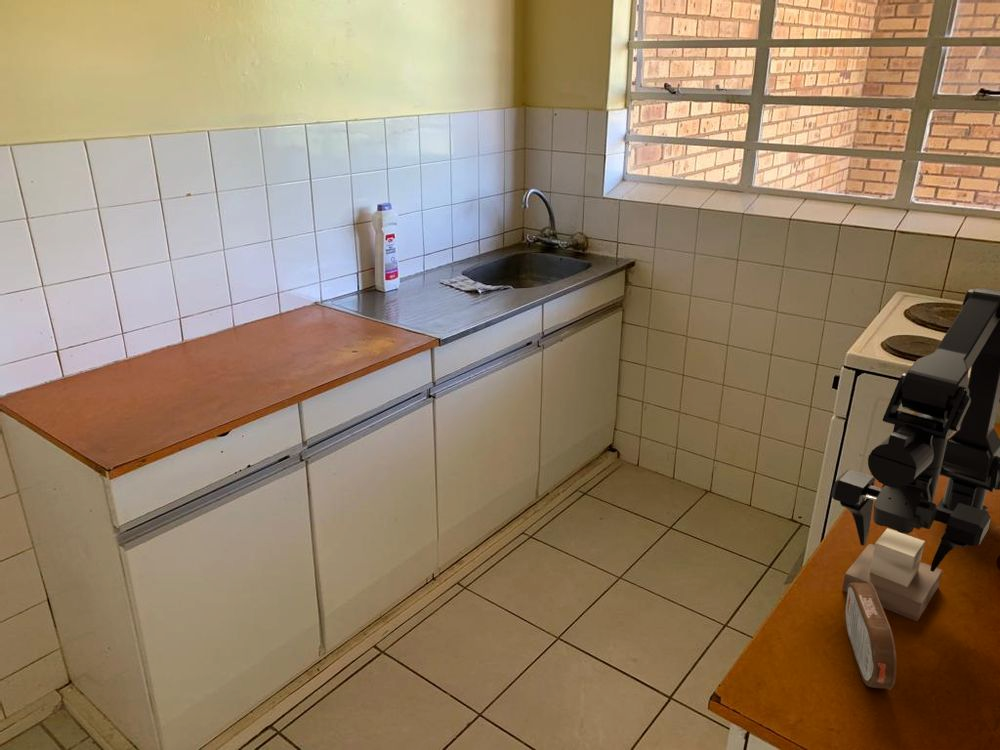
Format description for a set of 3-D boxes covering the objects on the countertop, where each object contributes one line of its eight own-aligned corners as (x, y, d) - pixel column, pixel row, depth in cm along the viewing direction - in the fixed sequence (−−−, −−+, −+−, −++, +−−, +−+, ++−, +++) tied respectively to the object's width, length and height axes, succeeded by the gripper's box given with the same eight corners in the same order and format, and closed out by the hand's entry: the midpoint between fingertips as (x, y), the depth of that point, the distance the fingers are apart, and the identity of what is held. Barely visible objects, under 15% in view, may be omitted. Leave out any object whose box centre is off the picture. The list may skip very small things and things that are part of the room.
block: (881, 556, 111) (887, 528, 109) (918, 570, 108) (924, 541, 106) (869, 572, 108) (875, 542, 106) (907, 587, 104) (914, 556, 102)
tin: (892, 705, 89) (905, 648, 86) (863, 701, 89) (875, 645, 86) (862, 621, 102) (872, 569, 99) (837, 618, 103) (846, 567, 100)
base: (866, 559, 115) (869, 543, 114) (938, 587, 109) (942, 569, 108) (842, 590, 109) (845, 573, 107) (917, 621, 102) (921, 603, 101)
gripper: (824, 459, 101) (808, 556, 107) (982, 507, 90) (955, 614, 95) (854, 431, 109) (838, 523, 115) (1003, 473, 97) (977, 573, 103)
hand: (897, 556), depth 107 cm, fingers open, 9 cm apart
